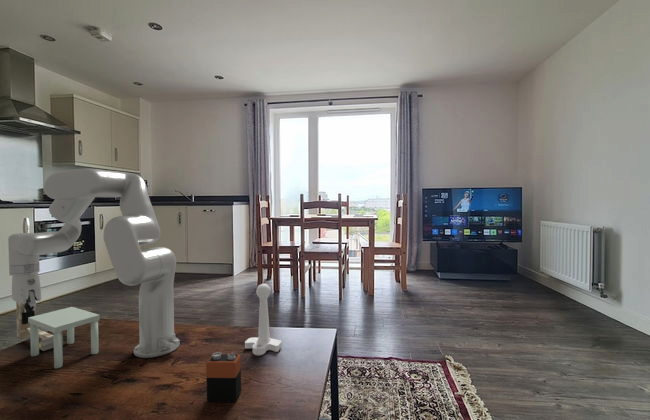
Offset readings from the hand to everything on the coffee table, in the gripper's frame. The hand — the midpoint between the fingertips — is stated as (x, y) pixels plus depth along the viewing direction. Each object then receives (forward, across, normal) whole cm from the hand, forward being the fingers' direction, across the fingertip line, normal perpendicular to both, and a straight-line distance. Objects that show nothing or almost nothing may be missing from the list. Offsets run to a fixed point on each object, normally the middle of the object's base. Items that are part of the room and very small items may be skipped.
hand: (26, 321), depth 106 cm
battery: (+6, -87, -7) cm, 87 cm away
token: (+5, -16, 0) cm, 17 cm away
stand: (+5, -28, 0) cm, 28 cm away
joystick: (+6, -80, -29) cm, 85 cm away
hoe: (+5, -9, 0) cm, 10 cm away
